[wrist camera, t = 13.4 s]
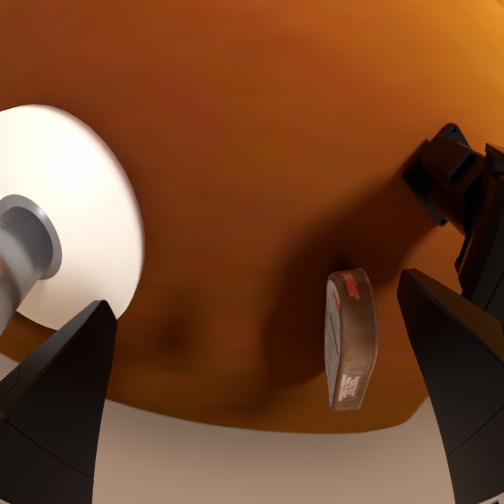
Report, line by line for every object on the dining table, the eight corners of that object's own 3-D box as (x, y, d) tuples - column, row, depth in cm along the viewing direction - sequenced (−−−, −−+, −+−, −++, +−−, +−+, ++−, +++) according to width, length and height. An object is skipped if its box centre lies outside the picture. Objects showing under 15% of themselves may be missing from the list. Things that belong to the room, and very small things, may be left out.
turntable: (199, 197, 19) (194, 210, 18) (100, 346, 28) (94, 360, 26) (-4, 66, 12) (-21, 69, 10) (-37, 247, 21) (-47, 257, 19)
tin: (344, 358, 31) (360, 422, 24) (317, 363, 31) (329, 428, 24) (356, 246, 23) (395, 321, 16) (319, 250, 23) (346, 330, 16)
